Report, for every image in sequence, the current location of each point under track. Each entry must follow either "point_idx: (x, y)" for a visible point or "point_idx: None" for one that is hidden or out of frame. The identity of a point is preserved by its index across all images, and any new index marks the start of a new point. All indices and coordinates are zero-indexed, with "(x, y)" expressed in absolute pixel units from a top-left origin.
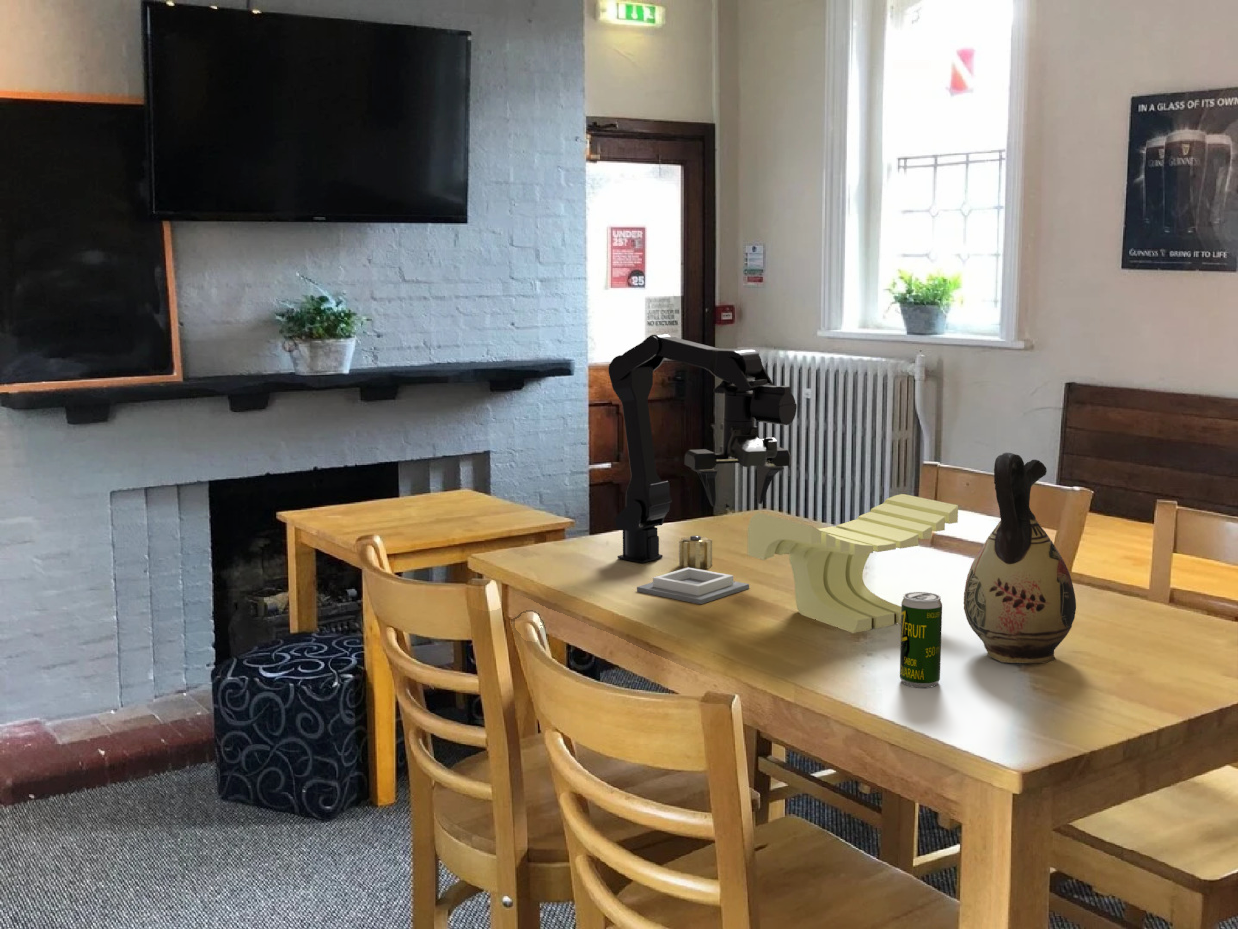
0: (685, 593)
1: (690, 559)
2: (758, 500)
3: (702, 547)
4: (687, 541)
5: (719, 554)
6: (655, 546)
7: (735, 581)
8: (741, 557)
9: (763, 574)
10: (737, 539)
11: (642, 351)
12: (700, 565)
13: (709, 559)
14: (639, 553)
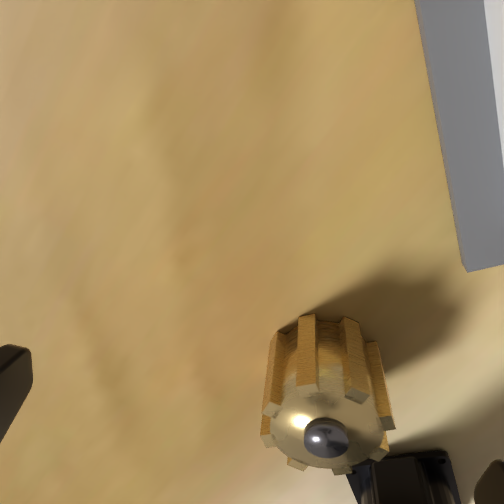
0: None
1: (367, 362)
2: (16, 392)
3: (331, 376)
4: (373, 429)
5: (173, 415)
6: (396, 493)
7: (423, 15)
8: (131, 362)
9: (183, 139)
10: (51, 489)
11: None
12: (336, 330)
13: (302, 335)
14: (440, 489)
